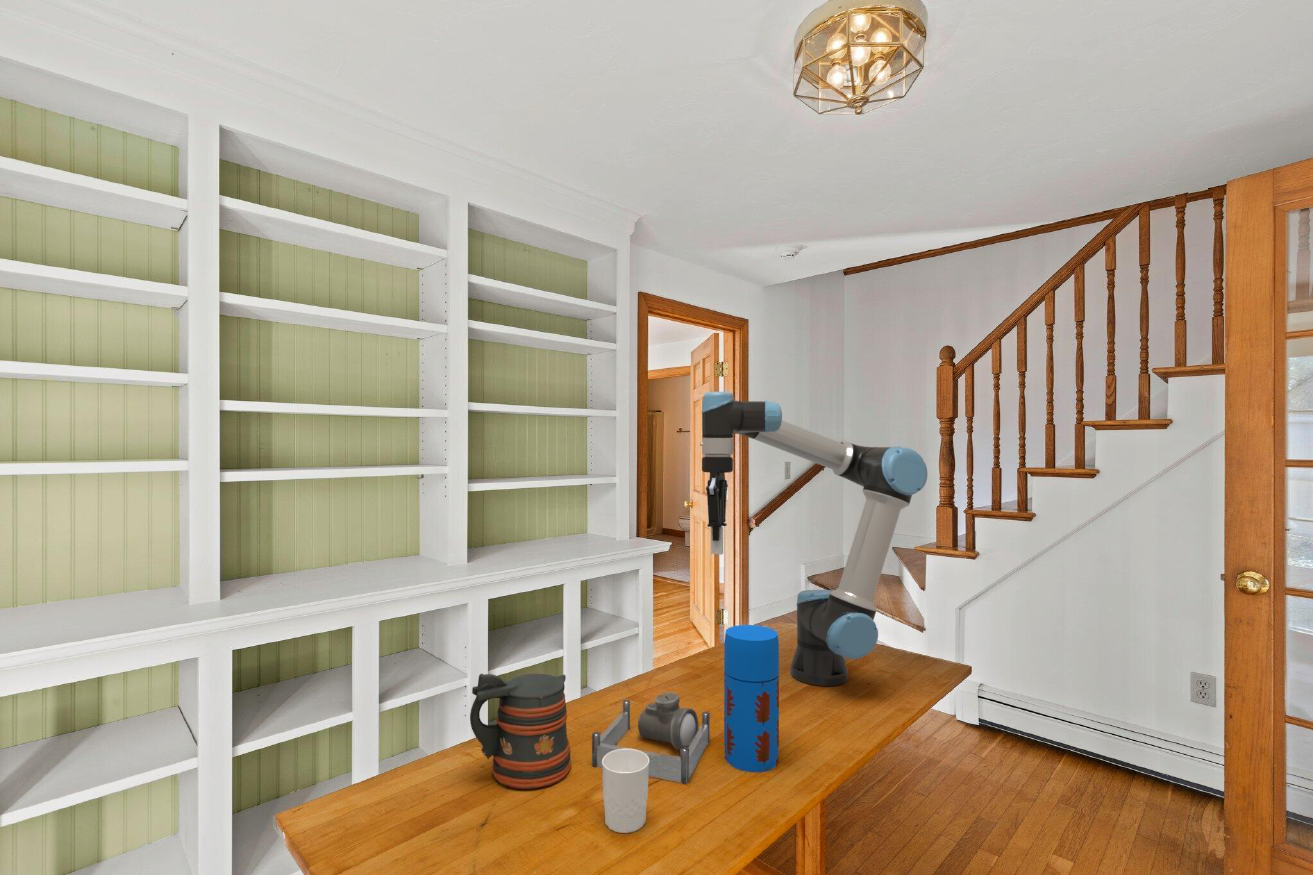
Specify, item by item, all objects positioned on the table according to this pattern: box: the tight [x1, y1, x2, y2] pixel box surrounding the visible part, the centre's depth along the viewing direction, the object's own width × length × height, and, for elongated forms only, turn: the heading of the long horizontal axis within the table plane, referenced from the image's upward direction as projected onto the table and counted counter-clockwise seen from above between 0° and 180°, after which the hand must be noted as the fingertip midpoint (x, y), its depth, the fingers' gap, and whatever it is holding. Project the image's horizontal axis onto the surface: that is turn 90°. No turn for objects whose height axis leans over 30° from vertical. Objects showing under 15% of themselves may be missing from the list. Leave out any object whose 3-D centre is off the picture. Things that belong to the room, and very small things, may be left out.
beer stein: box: [469, 673, 572, 790], centre depth 115 cm, size 19×15×20 cm
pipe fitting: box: [637, 692, 700, 751], centre depth 127 cm, size 12×8×10 cm
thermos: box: [723, 624, 780, 773], centre depth 121 cm, size 11×11×25 cm
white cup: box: [601, 748, 650, 834], centre depth 101 cm, size 8×8×10 cm
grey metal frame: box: [591, 699, 711, 785], centre depth 123 cm, size 18×20×6 cm
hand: (717, 553), depth 146 cm, fingers closed
